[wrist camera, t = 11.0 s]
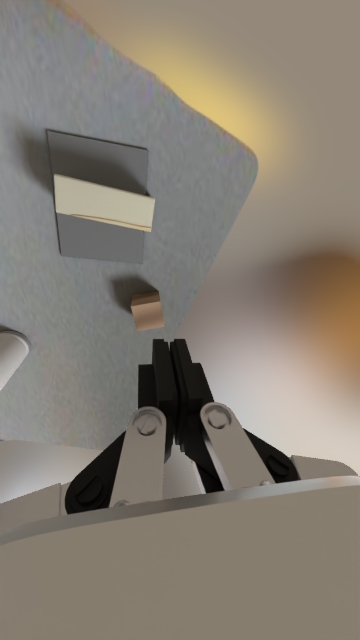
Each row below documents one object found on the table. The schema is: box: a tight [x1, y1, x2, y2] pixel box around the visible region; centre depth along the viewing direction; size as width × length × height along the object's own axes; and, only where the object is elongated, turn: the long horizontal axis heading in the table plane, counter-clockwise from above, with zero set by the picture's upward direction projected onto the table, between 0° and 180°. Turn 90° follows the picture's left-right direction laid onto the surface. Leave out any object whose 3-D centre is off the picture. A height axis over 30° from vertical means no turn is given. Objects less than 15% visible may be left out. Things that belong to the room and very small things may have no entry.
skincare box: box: [54, 174, 155, 232], centre depth 31 cm, size 6×4×12 cm
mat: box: [47, 131, 148, 264], centre depth 33 cm, size 16×13×1 cm
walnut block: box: [131, 291, 165, 331], centre depth 40 cm, size 5×5×5 cm
